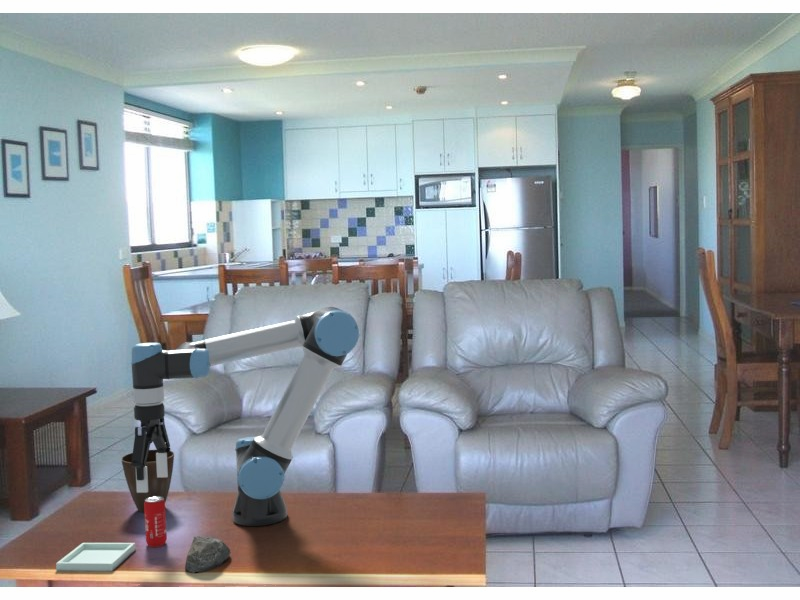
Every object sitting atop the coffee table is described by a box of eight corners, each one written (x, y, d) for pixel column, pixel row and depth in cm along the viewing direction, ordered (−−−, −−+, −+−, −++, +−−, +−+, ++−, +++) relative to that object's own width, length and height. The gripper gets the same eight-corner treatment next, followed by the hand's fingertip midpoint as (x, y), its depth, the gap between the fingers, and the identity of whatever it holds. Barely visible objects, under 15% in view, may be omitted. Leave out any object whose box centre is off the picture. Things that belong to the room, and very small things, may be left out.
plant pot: (168, 516, 246) (165, 461, 245) (117, 517, 246) (113, 463, 245) (182, 500, 261) (180, 448, 260) (133, 502, 261) (130, 450, 260)
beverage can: (161, 548, 221) (158, 502, 220) (142, 547, 222) (140, 501, 221) (170, 541, 226) (168, 496, 225) (152, 540, 227) (149, 495, 226)
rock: (202, 552, 217) (201, 527, 216) (235, 553, 216) (234, 528, 215) (182, 573, 204) (181, 546, 203) (217, 574, 202) (216, 547, 202)
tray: (135, 549, 220) (135, 542, 220) (112, 570, 206) (112, 563, 206) (83, 549, 221) (82, 542, 221) (56, 570, 208) (56, 563, 207)
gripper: (153, 394, 234) (156, 471, 235) (114, 413, 209) (118, 498, 211) (180, 394, 233) (183, 471, 235) (144, 413, 208) (148, 498, 210)
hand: (152, 484), depth 223 cm, fingers open, 13 cm apart
